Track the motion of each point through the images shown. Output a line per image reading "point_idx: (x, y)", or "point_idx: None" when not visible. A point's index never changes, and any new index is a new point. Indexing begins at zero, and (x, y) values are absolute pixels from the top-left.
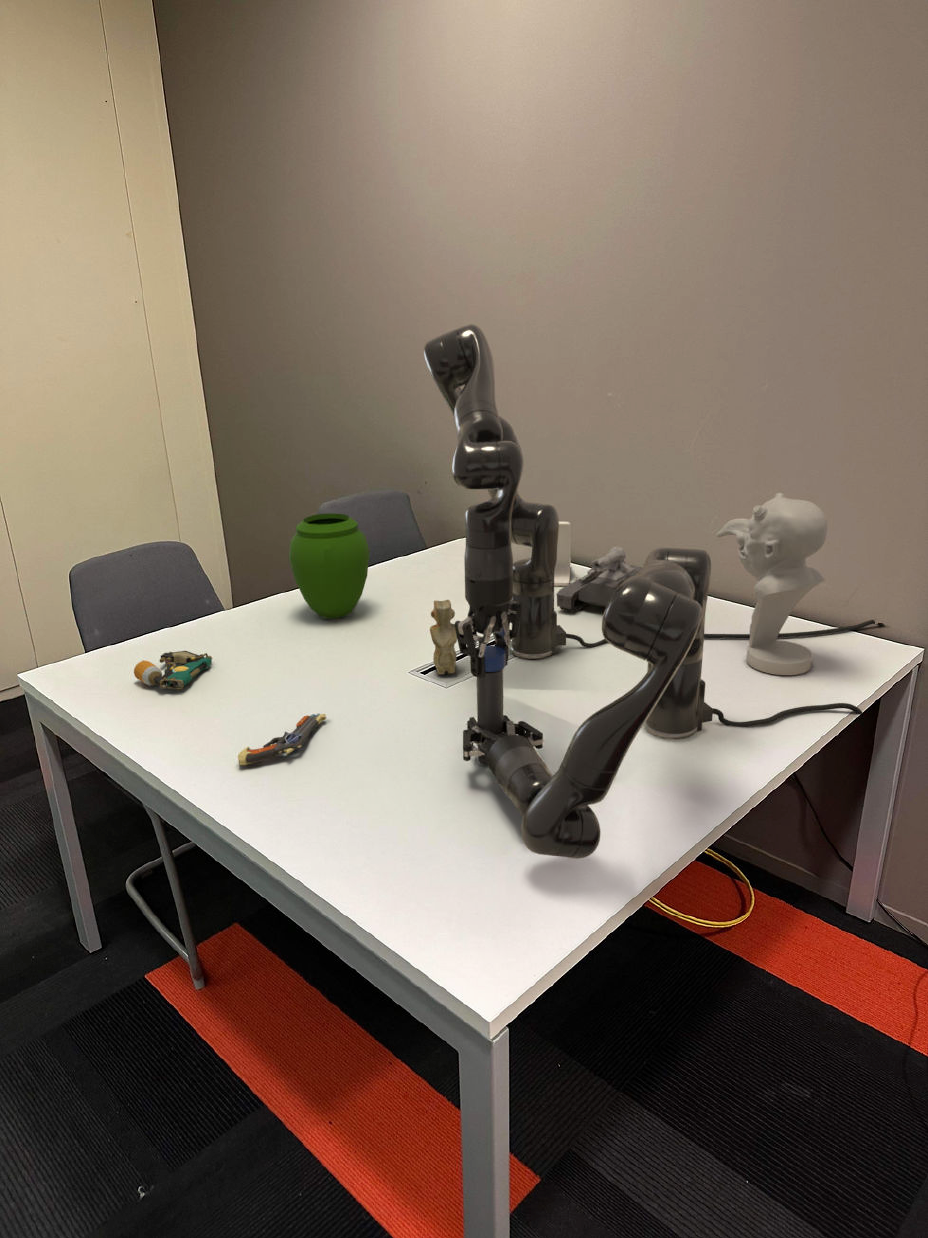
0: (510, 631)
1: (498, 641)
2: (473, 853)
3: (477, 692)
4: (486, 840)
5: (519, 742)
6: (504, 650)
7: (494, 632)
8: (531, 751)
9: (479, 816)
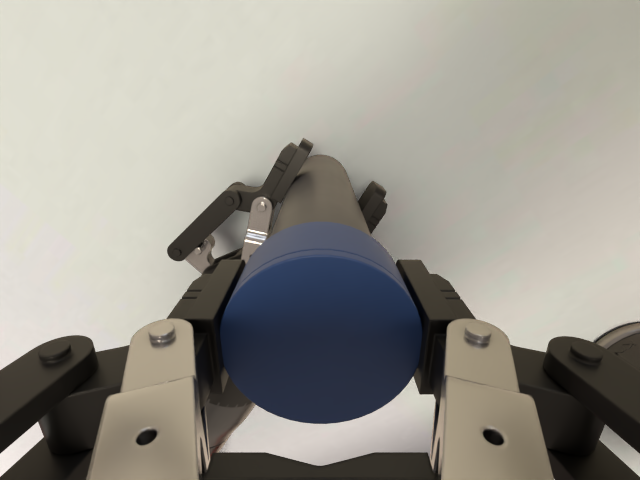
0: (561, 444)
1: (441, 359)
2: (95, 343)
3: (276, 221)
4: (131, 337)
5: (225, 391)
6: (394, 395)
7: (440, 409)
8: (221, 421)
9: (165, 292)
